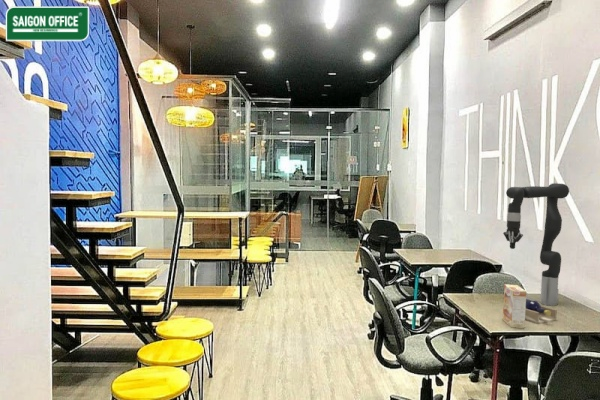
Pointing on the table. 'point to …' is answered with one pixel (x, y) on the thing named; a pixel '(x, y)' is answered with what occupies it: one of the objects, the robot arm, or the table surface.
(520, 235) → the robot arm
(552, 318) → the u rest
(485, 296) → the table surface
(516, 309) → the coffeecake box
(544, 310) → the bottle
